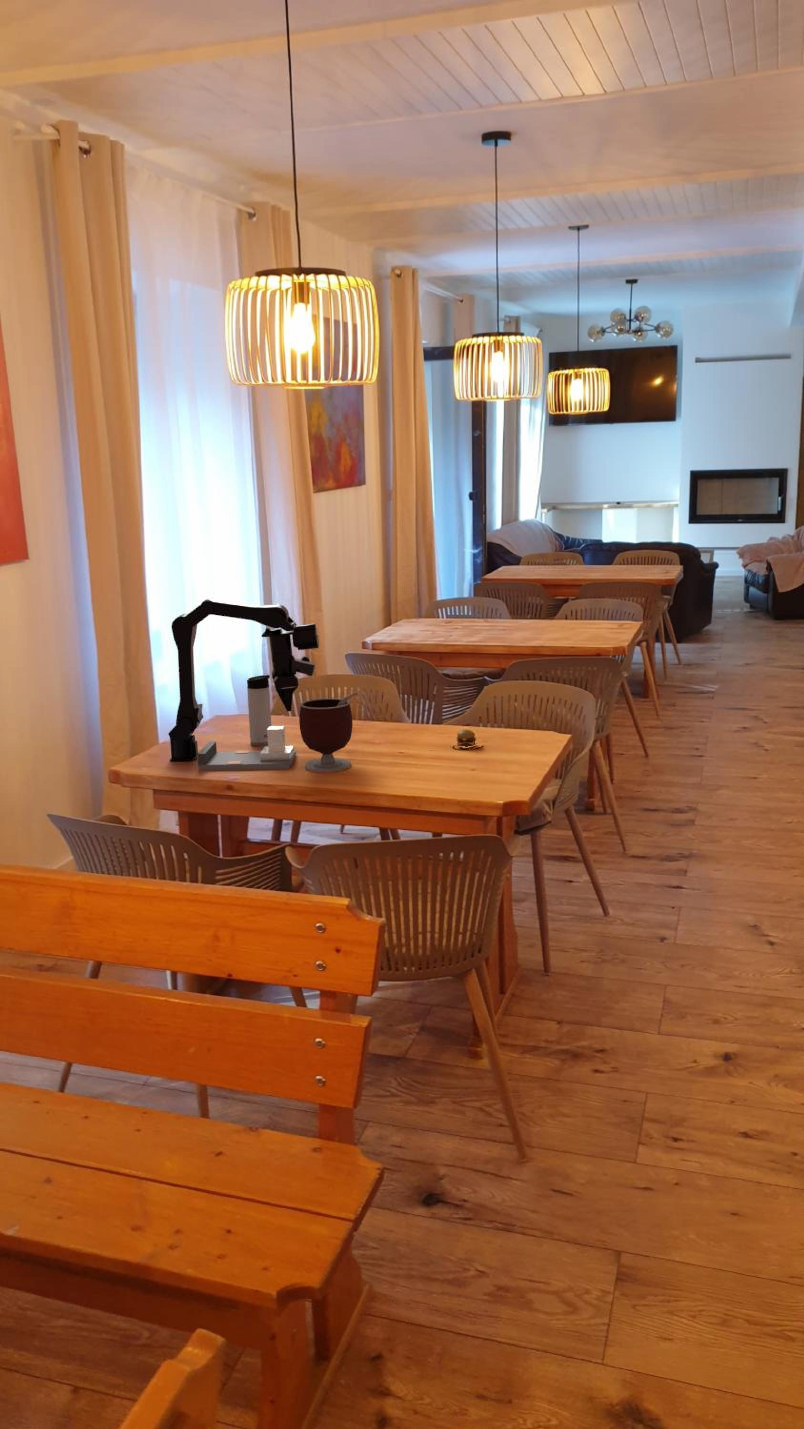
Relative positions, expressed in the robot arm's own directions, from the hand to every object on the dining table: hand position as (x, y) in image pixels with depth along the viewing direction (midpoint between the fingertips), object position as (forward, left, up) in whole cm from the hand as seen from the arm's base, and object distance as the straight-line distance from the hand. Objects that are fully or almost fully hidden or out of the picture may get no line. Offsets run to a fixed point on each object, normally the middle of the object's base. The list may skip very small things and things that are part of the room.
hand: (288, 708), depth 311 cm
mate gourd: (+12, -12, -14) cm, 22 cm away
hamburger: (+49, +7, -14) cm, 51 cm away
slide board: (-11, -7, -13) cm, 19 cm away
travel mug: (-11, +15, -14) cm, 23 cm away
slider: (-3, -7, -12) cm, 14 cm away
